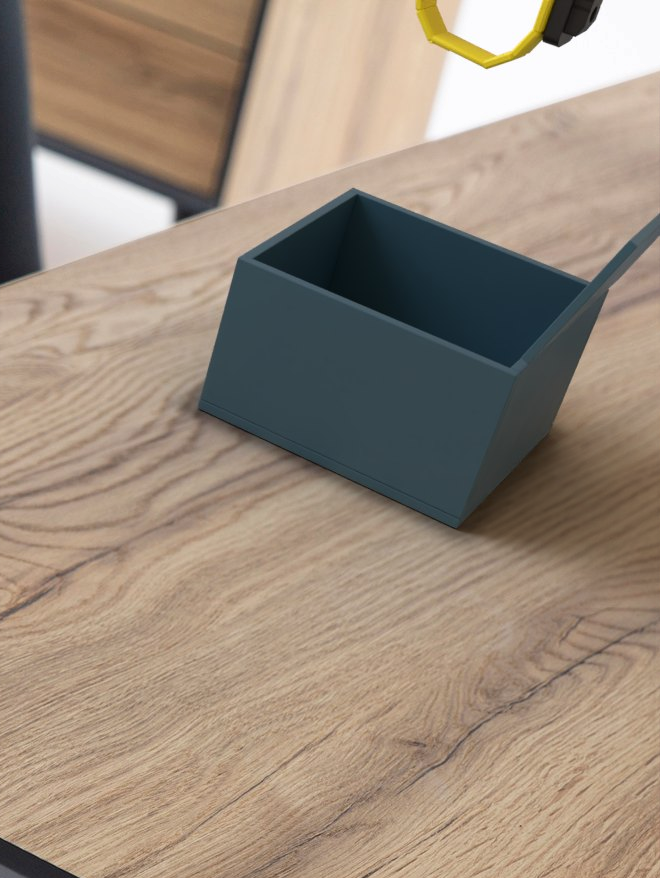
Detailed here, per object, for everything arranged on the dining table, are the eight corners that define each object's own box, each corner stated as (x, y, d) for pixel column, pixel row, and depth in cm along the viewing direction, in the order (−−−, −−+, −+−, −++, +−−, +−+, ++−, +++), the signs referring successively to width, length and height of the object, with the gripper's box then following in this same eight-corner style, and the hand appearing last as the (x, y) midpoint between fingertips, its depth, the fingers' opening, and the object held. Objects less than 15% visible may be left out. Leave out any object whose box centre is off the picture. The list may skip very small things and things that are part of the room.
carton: (549, 432, 83) (609, 289, 78) (456, 529, 74) (517, 376, 70) (309, 327, 87) (352, 187, 83) (196, 408, 79) (237, 257, 74)
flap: (612, 273, 78) (618, 279, 78) (520, 358, 69) (527, 364, 69) (714, 163, 73) (722, 169, 73) (629, 239, 65) (637, 247, 65)
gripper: (858, -407, 63) (670, 54, 73) (492, -491, 68) (366, -50, 78) (808, -404, 57) (614, 92, 68) (417, -496, 63) (293, -22, 73)
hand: (482, 14), depth 73 cm, fingers closed on watch, 6 cm apart
